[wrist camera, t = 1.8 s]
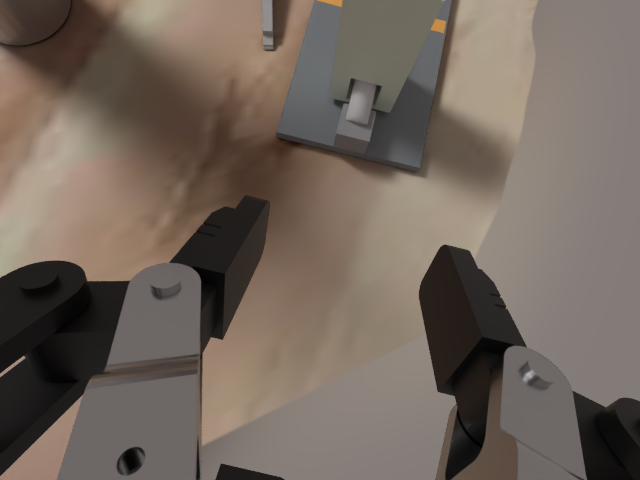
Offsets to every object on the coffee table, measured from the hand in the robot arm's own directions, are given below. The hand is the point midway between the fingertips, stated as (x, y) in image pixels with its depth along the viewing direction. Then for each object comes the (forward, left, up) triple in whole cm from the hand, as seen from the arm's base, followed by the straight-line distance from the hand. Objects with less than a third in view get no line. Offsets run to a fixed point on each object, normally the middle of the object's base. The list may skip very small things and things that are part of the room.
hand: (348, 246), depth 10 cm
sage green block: (0, +19, -17) cm, 25 cm away
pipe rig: (0, +24, -18) cm, 30 cm away
